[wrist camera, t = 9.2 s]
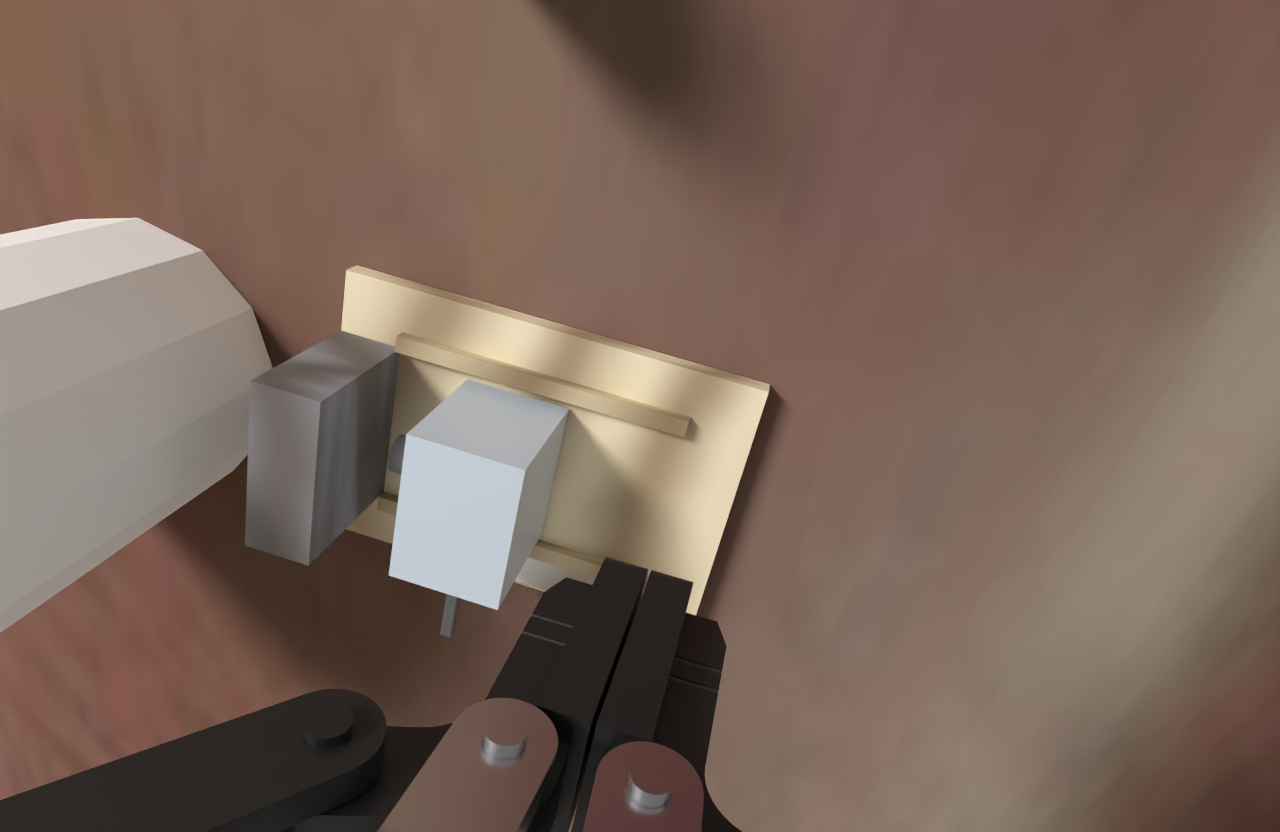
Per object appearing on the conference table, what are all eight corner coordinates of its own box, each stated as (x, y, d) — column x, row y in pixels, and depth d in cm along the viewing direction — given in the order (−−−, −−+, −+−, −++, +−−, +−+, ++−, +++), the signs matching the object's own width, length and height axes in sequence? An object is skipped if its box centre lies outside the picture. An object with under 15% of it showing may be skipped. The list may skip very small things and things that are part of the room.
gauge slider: (569, 408, 38) (525, 470, 32) (530, 588, 42) (485, 671, 37) (427, 367, 39) (359, 419, 33) (403, 548, 43) (339, 624, 37)
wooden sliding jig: (769, 384, 37) (760, 460, 30) (691, 625, 43) (667, 738, 36) (357, 265, 39) (252, 309, 31) (335, 513, 44) (242, 599, 37)
